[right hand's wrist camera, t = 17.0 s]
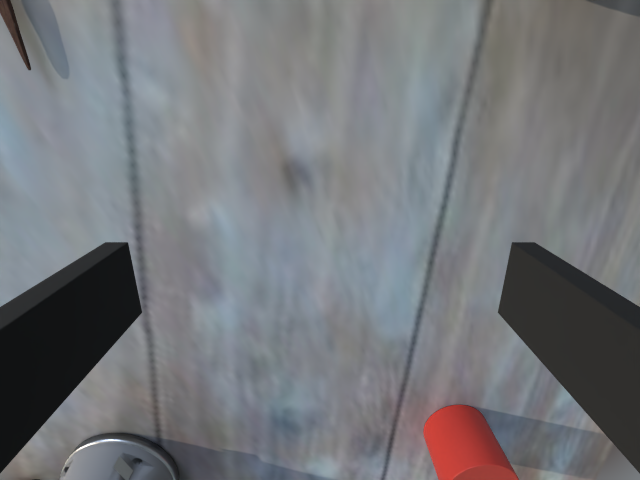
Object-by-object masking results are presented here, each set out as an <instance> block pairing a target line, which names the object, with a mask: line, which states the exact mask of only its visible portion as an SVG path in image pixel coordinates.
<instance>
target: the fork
mask: <svg viewBox="0 0 640 480" xmlns="http://www.w3.org/2000/svg"><path fill="white" fill-rule="evenodd" d="M0 13H1V15H2V17H3V19H4V21H5V23H6V25H7V27H8V30H9V32H10V34H11V36H12V38H13V40H14V42H15V44H16V46H17V48H18V51H19V53H20V55H21V57H22V59H23V61H24V63H25V65H26V66H27V68H28V70H31V67H30V63H29V59H28V56H27V53H26V49H25V46H24V43H23V40H22V37H21V34H20V31H19V27H18V24H17V20H16V17H15V13H14V10H13V7H12V4H11V1H10V0H0Z"/></svg>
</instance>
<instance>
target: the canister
mask: <svg viewBox="0 0 640 480" xmlns="http://www.w3.org/2000/svg"><path fill="white" fill-rule="evenodd" d="M424 438H425V441H426V444H427V447H428V449H429V452H430V455H431V458H432V461H433V464H434V467H435V470H436V473H437V476H438V479H439V480H519V479H518V477H517V475H516V473H515V472H514V470H513V468H512V466H511V464H510V463H509V461H508V459H507V457H506V455H505V454H504V452H503V450H502V448H501V447H500V445H499V443H498V441H497V439H496V438H495V436H494V434H493V432H492V430H491V429H490V427H489V425H488V423H487V422H486V420H485V418H484V416H483V415H482V414H481V412H479V411H478V410H477V409H475V408H473V407H470V406H466V405H452V406H447V407H445V408H442V409H440V410H438V411H436V412H435V413H434V414H433V415H431V416H430V418H429V419H428V420H427V422H426V424H425V426H424Z"/></svg>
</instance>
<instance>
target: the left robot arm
mask: <svg viewBox="0 0 640 480" xmlns="http://www.w3.org/2000/svg"><path fill="white" fill-rule="evenodd" d="M34 480H38V479H34ZM60 480H179V474H178V469H177V467H176V464H175V462H174V461H173V459H172V458H171V457H170V455H169V454H168V453H167V452H166V451H164V450H163V449H162V448H161V447H159V446H158V445H156V444H155V443H153V442H151V441H149V440H147V439H144V438H141V437H138V436H135V435H130V434H123V433H108V434H101V435H97V436H94V437H91V438H89V439H87V440H85V441H84V442H82V443H81V444H79V445H78V446H77V447H76V449H75V450H74V451H73V453H72V454H71V456H70V457H69V458H68V460H67V461H66V463H65V466H64V467H63V470H62V472H61V475H60Z"/></svg>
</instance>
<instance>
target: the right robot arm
mask: <svg viewBox="0 0 640 480" xmlns="http://www.w3.org/2000/svg"><path fill="white" fill-rule="evenodd" d="M141 313H142V310H141V305H140V300H139V295H138V290H137V285H136V280H135V275H134V270H133V265H132V260H131V255H130V251H129V246H128V242H105V243H104V244H102V245H101V246H99V247H97V248H96V249H94V250H92V251H91V252H89V253H88V254H86V255H84V256H83V257H81V258H79V259H78V260H76V261H75V262H73V263H71V264H70V265H68V266H66V267H65V268H63V269H62V270H60V271H58V272H57V273H55V274H53V275H52V276H50V277H48V278H47V279H45V280H44V281H42V282H40V283H39V284H37V285H35V286H34V287H32V288H31V289H29V290H27V291H26V292H24V293H22V294H21V295H19V296H18V297H16V298H14V299H13V300H11V301H9V302H8V303H6V304H5V305H3V306H1V307H0V473H1V472H2V471H3V470H4V468H5V467H6V466H7V465H8V464H9V463H10V462H11V460H12V459H13V458H14V457H15V456H16V455H17V454H18V453H19V451H20V450H21V449H22V448H23V447H24V446H25V445H26V443H27V442H28V441H29V440H30V439H31V438H32V437H33V436H34V434H35V433H36V432H37V431H38V430H39V429H40V428H41V426H42V425H43V424H44V423H45V422H46V421H47V420H48V419H49V417H50V416H51V415H52V414H53V413H54V412H55V411H56V409H57V408H58V407H59V406H60V405H61V404H62V403H63V402H64V400H65V399H66V398H67V397H68V396H69V395H70V394H71V392H72V391H73V390H74V389H75V388H76V387H77V386H78V385H79V383H80V382H81V381H82V380H83V379H84V378H85V377H86V375H87V374H88V373H89V372H90V371H91V370H92V369H93V367H94V366H95V365H96V364H97V363H98V362H99V361H100V360H101V358H102V357H103V356H104V355H105V354H106V353H107V352H108V350H109V349H110V348H111V347H112V346H113V345H114V344H115V343H116V341H117V340H118V339H119V338H120V337H121V336H122V335H123V333H124V332H125V331H126V330H127V329H128V328H129V327H130V326H131V324H132V323H133V322H134V321H135V320H136V319H137V318H138V316H139V315H140V314H141ZM498 313H499V314H500V315H501V316H502V318H503V319H504V320H505V321H506V322H507V323H508V324H509V326H510V327H511V328H512V329H513V330H514V331H515V332H516V333H517V335H518V336H519V337H520V338H521V339H522V340H523V341H524V343H525V344H526V345H527V346H528V347H529V348H530V349H531V350H532V352H533V353H534V354H535V355H536V356H537V357H538V358H539V360H540V361H541V362H542V363H543V364H544V365H545V366H546V367H547V369H548V370H549V371H550V372H551V373H552V374H553V375H554V377H555V378H556V379H557V380H558V381H559V382H560V383H561V385H562V386H563V387H564V388H565V389H566V390H567V391H568V392H569V394H570V395H571V396H572V397H573V398H574V399H575V400H576V402H577V403H578V404H579V405H580V406H581V407H582V408H583V409H584V411H585V412H586V413H587V414H588V415H589V416H590V417H591V419H592V420H593V421H594V422H595V423H596V424H597V425H598V426H599V428H600V429H601V430H602V431H603V432H604V433H605V434H606V436H607V437H608V438H609V439H610V440H611V441H612V442H613V443H614V445H615V446H616V447H617V448H618V449H619V450H620V451H621V453H622V454H623V455H624V456H625V457H626V458H627V459H628V460H629V462H630V463H631V464H632V465H633V466H634V467H635V468H636V470H637V471H638V472H639V473H640V307H639V306H637V305H635V304H634V303H632V302H631V301H629V300H627V299H626V298H624V297H622V296H621V295H619V294H618V293H616V292H614V291H613V290H611V289H609V288H608V287H606V286H605V285H603V284H601V283H600V282H598V281H596V280H595V279H593V278H592V277H590V276H588V275H587V274H585V273H583V272H582V271H580V270H578V269H577V268H575V267H574V266H572V265H570V264H569V263H567V262H565V261H564V260H562V259H561V258H559V257H557V256H556V255H554V254H552V253H551V252H549V251H548V250H546V249H544V248H543V247H541V246H539V245H538V244H536V243H535V242H512V246H511V251H510V255H509V260H508V265H507V270H506V275H505V280H504V285H503V290H502V295H501V300H500V305H499V310H498Z"/></svg>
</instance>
